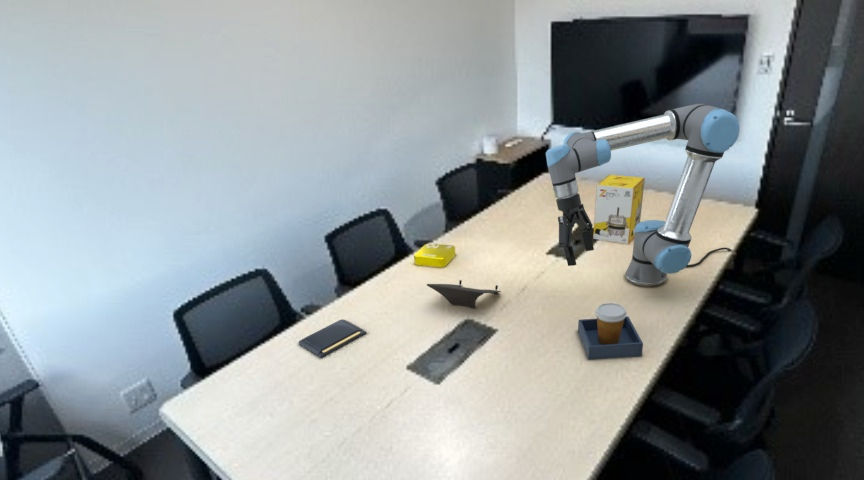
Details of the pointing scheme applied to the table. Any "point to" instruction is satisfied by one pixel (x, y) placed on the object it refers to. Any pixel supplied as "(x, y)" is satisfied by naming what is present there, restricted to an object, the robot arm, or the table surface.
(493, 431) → the table surface
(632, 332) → the bin
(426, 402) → the table surface
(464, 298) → the dark gray curved stand
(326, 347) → the wallet
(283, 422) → the table surface
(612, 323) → the disposable coffee cup
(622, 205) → the packaging box
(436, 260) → the element tile
